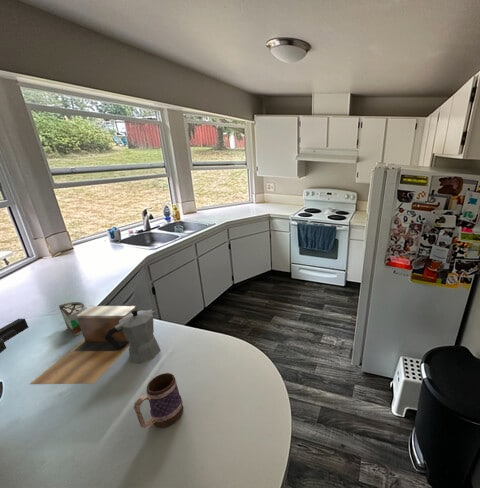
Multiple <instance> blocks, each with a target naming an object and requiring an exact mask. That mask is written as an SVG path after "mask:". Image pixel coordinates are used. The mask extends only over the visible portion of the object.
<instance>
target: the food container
mask: <svg viewBox="0 0 480 488" xmlns="http://www.w3.org/2000/svg"><path fill="white" fill-rule="evenodd" d="M58 308H59V310H60V313H61V315H62V318H63V320H64V323H65V326H66V328H67V329H68V331H69V332H71V333H72V334H73V335H74V337H76V336H79V335H81V334H83V333H82V330H81V328H80V325H79V322H78V319H77V315H78V314H80V313H81V312H83V311H84V310H86V309H87V308H88V307H87V305H86V304H85V303H83V302H80V301H72V302H66V303H62V304H59V305H58Z"/></svg>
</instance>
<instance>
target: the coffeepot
mask: <svg viewBox="0 0 480 488" xmlns="http://www.w3.org/2000/svg"><path fill="white" fill-rule="evenodd" d="M131 312H132V313H130V314H128V315H126V316H125V317H123V318H122V319H121V320H119V324H118V325H116V326H114V327H113V328H111V329H109V330H108V332H107V333H106V335H105V340H106V341H108V342H109V343H110V344H111V345H112V346H113V347H114V348H115V349H116V350H120V349H122V348H124V347H125V344H124V345H121V346H119V343H118V342H117V341H115V339H114V337H112V335H113V334H114V333H116V332H119V331H121V330H122V332H123V334H124V335H125V337H126V339H127V341H128V342H129V347H128V353H129V355H128V357H129V363H131V364H132V363H133V364H143V363H146V362H147V361H150V360H153V359H155V357H156V356H157V355H158V354H159V353H160V352H161V347H160V345H159V343H158V340H157V339H156V336H155V335H154V334H155V330H154V328H155V327H154V318H155V316H156V313H157V312H158V309H157V308H152V309H147V310H142V309H141V310H138V309H137V310H133V311H131Z"/></svg>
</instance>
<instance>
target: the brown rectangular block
mask: <svg viewBox="0 0 480 488" xmlns="http://www.w3.org/2000/svg"><path fill="white" fill-rule="evenodd" d="M133 310H137V311H138V309H137V305H90V306H88V307H87V309H86V310H84V311H83V312H81V313H80V314H78V315H77V319H78V322H79V325H80V328H81V330H82V333H81V334H82V336H83V338H84V339H83V340H85V341H106V340H105V335H106V333H107V332H108V330H109V329H111V328H113V327H114V326H116V325H118V324H119V320H121V319H122V318H123V317H125V316H126V315H128V314H130V313H132V312H131V311H133ZM112 337H114V339H115V341H127V339H126V337H125V335H124V334H123V332H122V330H121V331H119V332H116V333H114V334H113V335H112Z"/></svg>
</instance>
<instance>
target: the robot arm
mask: <svg viewBox="0 0 480 488" xmlns="http://www.w3.org/2000/svg"><path fill="white" fill-rule="evenodd" d="M27 329H29V325H28V322H27V320H26V318H17V319H16V320H13V321H12V322H10V323H8V324H7V325H4V326H3V327H1V328H0V354H1V353H3V352H4V351H5V350H6V349H7V345H6V344H5V342H7V341H9V340H11V339H13V338H14V337H16V336H17V335H19V334H20V333H22V332H24V331H26V330H27Z"/></svg>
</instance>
